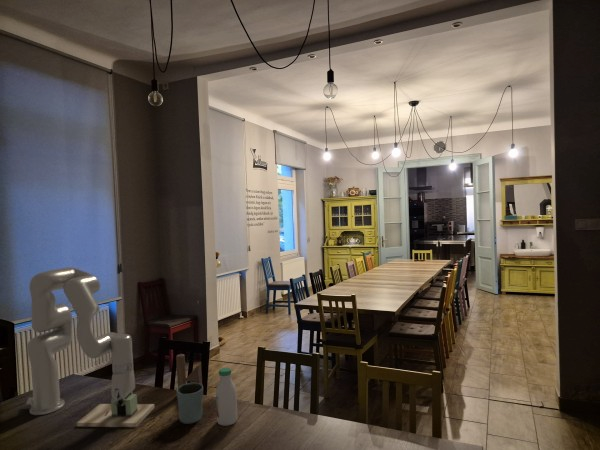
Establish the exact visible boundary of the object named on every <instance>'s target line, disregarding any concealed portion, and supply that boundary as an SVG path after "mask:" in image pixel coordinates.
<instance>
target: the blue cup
mask: <svg viewBox="0 0 600 450" xmlns="http://www.w3.org/2000/svg"><path fill="white" fill-rule="evenodd" d="M176 389H177V392H176V398H177V405H178V406H177V407H178V417H179V421H180V423H182V424H185V425H186V424H195V423H197V422H199V421H201V419H202V418H203V403H204V402H203V398H204V397H203V396H204V386H203V383H202V384H200V383H191V382H186V384H183V385H181V386H179V387H178V386H177V388H176Z"/></svg>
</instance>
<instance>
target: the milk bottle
mask: <svg viewBox="0 0 600 450" xmlns="http://www.w3.org/2000/svg"><path fill="white" fill-rule="evenodd" d="M218 377H219V380H218V383H217V386H216V392H215V404H216V405H215V406H216V421H217V424H218V425H220V426H225V427H226V426H227V427H228V426H231V425H234V424H235V423H237V421H238V415H239V414H238V399H237V388H236V385H235V383H234V381H233V379H232V368H230V367H221V368H220V369H219V370H218Z"/></svg>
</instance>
